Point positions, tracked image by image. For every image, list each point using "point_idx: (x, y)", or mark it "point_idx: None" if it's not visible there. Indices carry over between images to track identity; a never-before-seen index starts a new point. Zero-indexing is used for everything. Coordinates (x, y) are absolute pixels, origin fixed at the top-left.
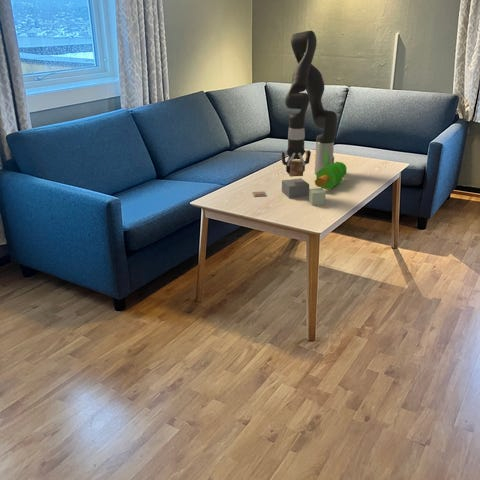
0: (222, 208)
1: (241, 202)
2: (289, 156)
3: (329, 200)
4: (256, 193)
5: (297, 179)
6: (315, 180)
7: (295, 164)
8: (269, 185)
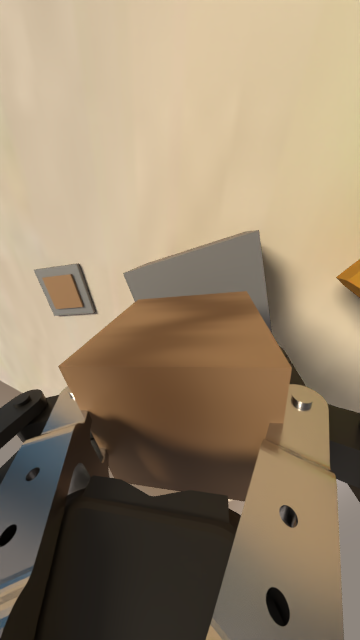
0: (13, 384)
1: (38, 355)
2: (7, 521)
3: (326, 382)
4: (53, 296)
5: (223, 261)
6: (354, 284)
7: (169, 480)
8: (78, 141)
